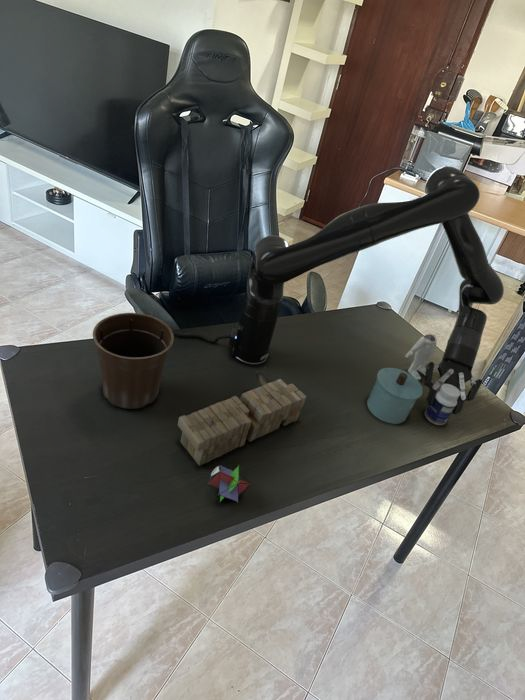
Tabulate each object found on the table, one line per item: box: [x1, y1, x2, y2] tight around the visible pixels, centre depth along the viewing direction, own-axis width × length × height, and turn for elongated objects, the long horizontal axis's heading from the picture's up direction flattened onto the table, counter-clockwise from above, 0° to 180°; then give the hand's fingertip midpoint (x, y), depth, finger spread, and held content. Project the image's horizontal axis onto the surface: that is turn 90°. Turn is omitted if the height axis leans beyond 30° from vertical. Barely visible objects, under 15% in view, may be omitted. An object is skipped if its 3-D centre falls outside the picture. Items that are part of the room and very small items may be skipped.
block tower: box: [177, 378, 307, 467], centre depth 105 cm, size 8×8×29 cm
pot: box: [366, 367, 424, 425], centre depth 121 cm, size 12×12×12 cm
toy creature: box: [405, 334, 437, 381], centre depth 138 cm, size 12×6×12 cm, turn 126°
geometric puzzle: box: [207, 464, 251, 503], centre depth 91 cm, size 7×7×8 cm
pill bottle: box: [424, 383, 460, 426], centre depth 123 cm, size 6×6×10 cm
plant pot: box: [92, 312, 175, 410], centre depth 105 cm, size 16×16×16 cm
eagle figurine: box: [255, 370, 271, 386], centre depth 116 cm, size 8×7×9 cm
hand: (442, 409), depth 122 cm, fingers closed on pill bottle, 5 cm apart
